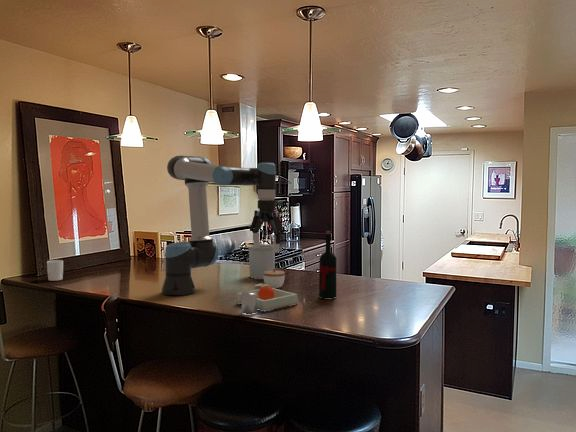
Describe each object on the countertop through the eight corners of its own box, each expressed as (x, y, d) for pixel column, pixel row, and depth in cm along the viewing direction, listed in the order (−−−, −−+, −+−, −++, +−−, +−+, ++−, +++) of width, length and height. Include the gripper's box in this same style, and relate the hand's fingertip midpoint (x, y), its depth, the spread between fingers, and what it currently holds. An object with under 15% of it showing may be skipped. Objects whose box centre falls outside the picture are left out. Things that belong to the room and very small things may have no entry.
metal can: (238, 313, 179) (238, 293, 178) (250, 310, 183) (250, 290, 182) (247, 316, 174) (247, 295, 174) (260, 313, 178) (260, 293, 178)
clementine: (258, 299, 196) (258, 283, 196) (274, 299, 197) (274, 283, 196) (258, 304, 188) (258, 287, 188) (274, 304, 189) (274, 287, 188)
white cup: (66, 278, 245) (66, 260, 245) (58, 281, 238) (57, 262, 237) (53, 278, 246) (52, 259, 246) (43, 280, 238) (43, 262, 238)
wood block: (253, 296, 207) (253, 285, 207) (260, 294, 211) (260, 283, 211) (262, 297, 204) (262, 286, 204) (269, 295, 209) (269, 284, 208)
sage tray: (237, 303, 193) (237, 293, 193) (270, 297, 205) (270, 287, 204) (263, 312, 179) (263, 301, 179) (297, 304, 191) (297, 294, 191)
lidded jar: (265, 290, 218) (265, 271, 217) (261, 286, 228) (261, 267, 228) (287, 289, 221) (287, 270, 220) (281, 284, 231) (281, 266, 231)
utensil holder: (244, 279, 246) (244, 246, 245) (253, 274, 260) (253, 243, 259) (270, 280, 242) (270, 247, 241) (278, 275, 257) (278, 244, 255)
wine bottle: (314, 299, 201) (314, 232, 199) (323, 294, 210) (323, 230, 208) (330, 301, 197) (331, 233, 195) (339, 296, 206) (339, 231, 204)
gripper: (292, 200, 184) (292, 252, 185) (255, 198, 203) (255, 245, 204) (278, 200, 179) (278, 254, 180) (242, 198, 198) (241, 247, 199)
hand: (266, 249), depth 192 cm, fingers open, 13 cm apart
